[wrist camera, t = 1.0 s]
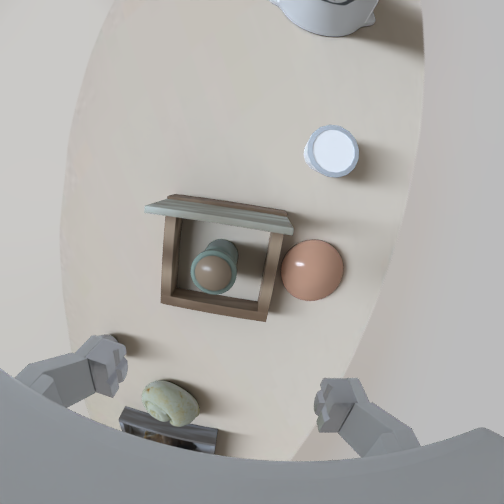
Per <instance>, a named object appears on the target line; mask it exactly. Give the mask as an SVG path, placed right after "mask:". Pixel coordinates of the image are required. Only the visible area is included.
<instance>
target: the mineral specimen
mask: <svg viewBox="0 0 504 504" xmlns="http://www.w3.org/2000/svg"><path fill="white" fill-rule="evenodd" d="M144 439H147V440H151V441H154V442H158V443H162V444H166V445H170V446H174V447H178V448H182V449H187V450H192V451H195V449H196V448H197V447H196V445H195V444H193V442H189V441H184V440H180V439H176V438H172V437H168V436H164V435H160V434H156V433H153V432H149V431H145V436H144Z"/></svg>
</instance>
